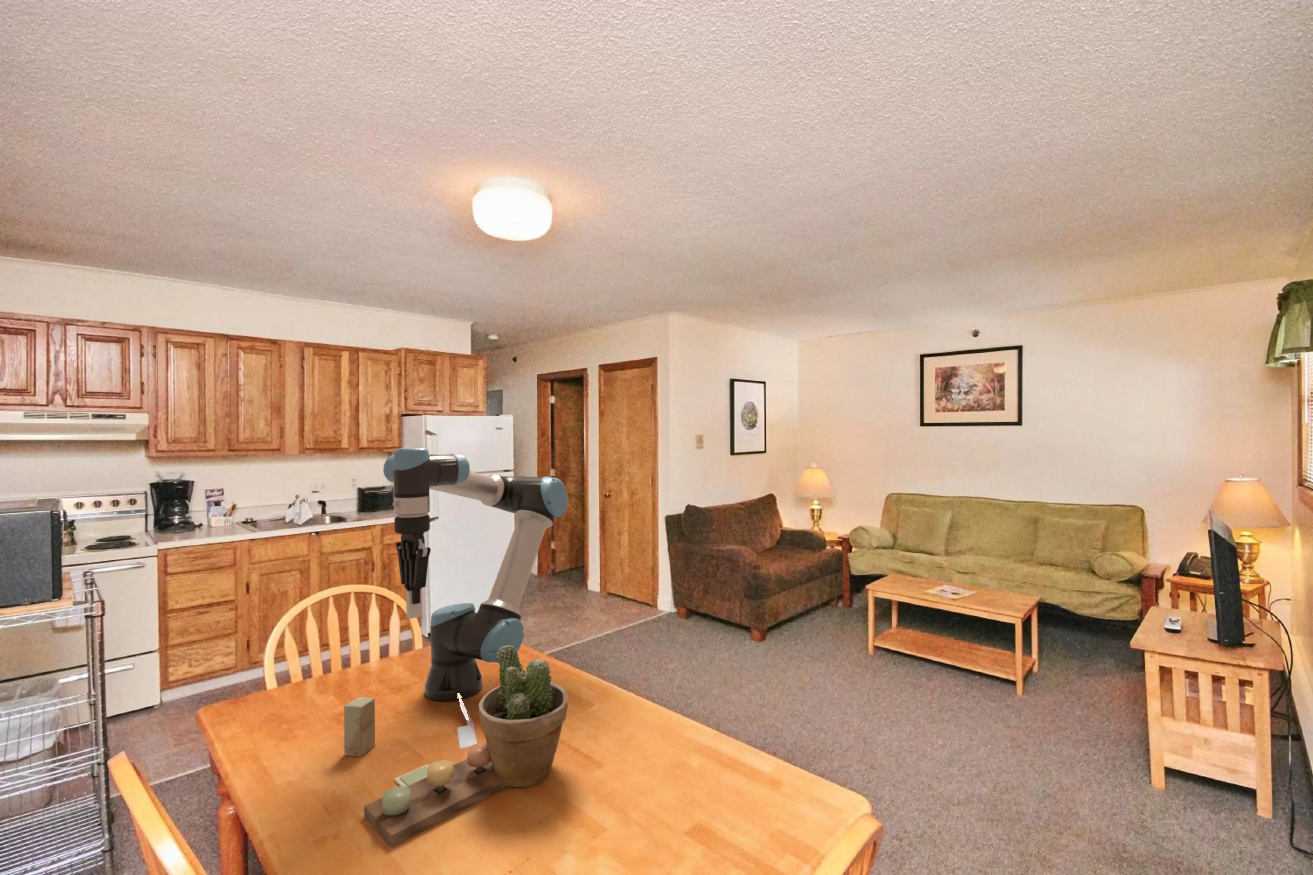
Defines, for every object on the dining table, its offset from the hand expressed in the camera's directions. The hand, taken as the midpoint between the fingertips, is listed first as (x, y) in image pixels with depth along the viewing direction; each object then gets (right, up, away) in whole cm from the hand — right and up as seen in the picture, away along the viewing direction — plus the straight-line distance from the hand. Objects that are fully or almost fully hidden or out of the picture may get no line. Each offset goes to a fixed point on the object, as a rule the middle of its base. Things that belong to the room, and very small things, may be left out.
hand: (413, 616), depth 134 cm
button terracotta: (+20, -27, -14) cm, 37 cm away
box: (-11, -30, -2) cm, 32 cm away
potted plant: (+28, -29, -12) cm, 42 cm away
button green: (+8, -29, -27) cm, 40 cm away
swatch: (+7, -30, -14) cm, 33 cm away
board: (+14, -30, -20) cm, 38 cm away
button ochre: (+14, -28, -20) cm, 37 cm away
